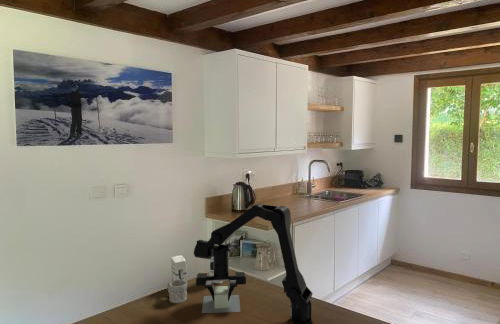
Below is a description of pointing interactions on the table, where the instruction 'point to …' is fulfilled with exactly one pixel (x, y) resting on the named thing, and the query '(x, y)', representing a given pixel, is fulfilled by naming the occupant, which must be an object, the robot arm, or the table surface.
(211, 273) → the syrup box
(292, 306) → the robot arm
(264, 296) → the table surface
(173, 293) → the mug
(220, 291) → the sage block
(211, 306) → the tile
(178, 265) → the ink box
